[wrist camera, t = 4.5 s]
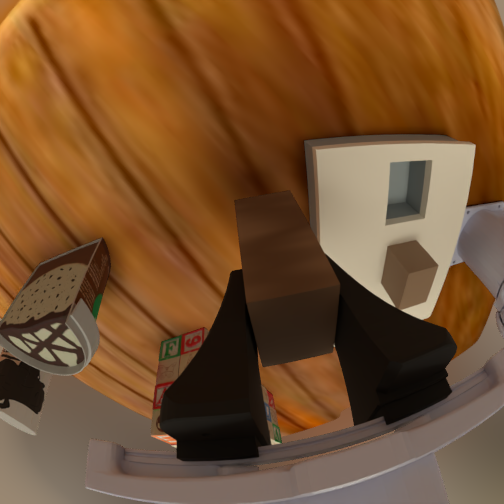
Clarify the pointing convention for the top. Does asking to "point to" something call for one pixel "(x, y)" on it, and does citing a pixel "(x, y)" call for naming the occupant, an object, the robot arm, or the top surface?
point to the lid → (396, 229)
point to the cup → (21, 392)
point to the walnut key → (285, 280)
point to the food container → (59, 311)
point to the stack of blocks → (173, 364)
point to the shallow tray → (400, 180)
